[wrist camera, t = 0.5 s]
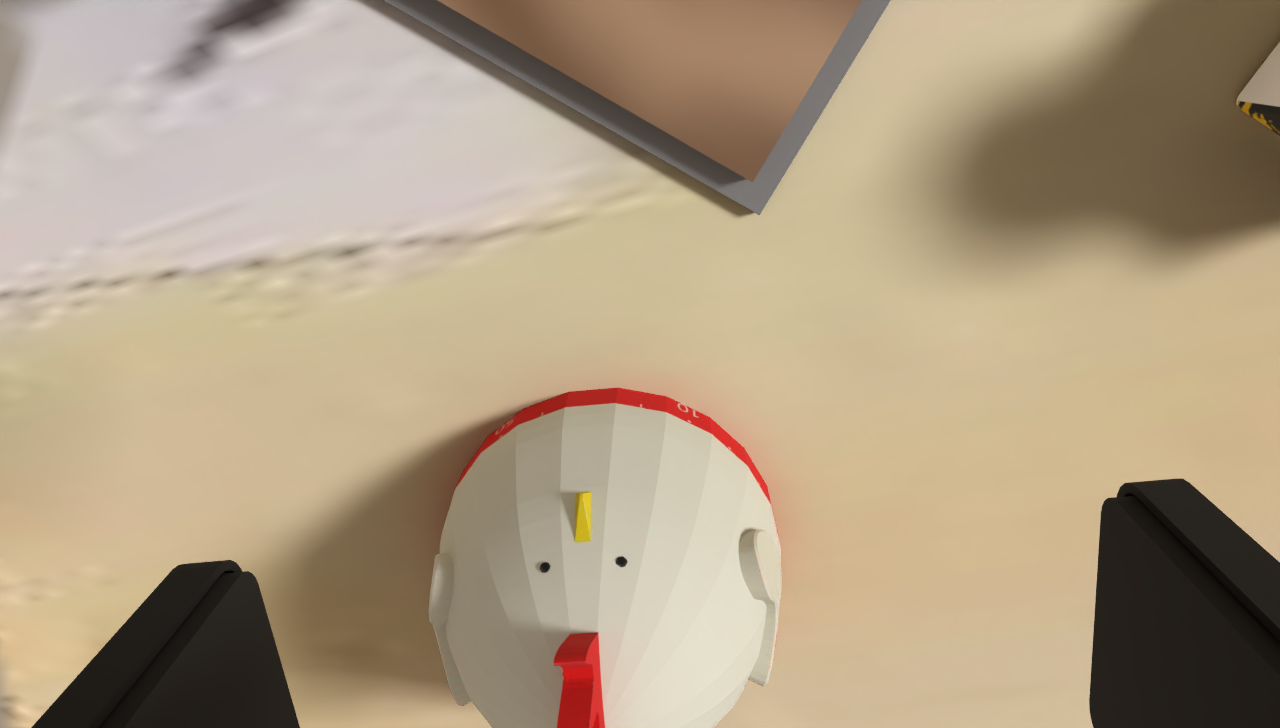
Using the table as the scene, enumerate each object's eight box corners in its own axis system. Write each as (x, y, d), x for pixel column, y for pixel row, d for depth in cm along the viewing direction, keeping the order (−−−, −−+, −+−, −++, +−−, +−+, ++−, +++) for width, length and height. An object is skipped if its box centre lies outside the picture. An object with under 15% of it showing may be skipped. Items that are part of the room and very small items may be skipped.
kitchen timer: (766, 374, 38) (827, 589, 23) (784, 660, 42) (842, 982, 28) (424, 403, 38) (283, 628, 24) (478, 681, 43) (386, 1003, 29)
